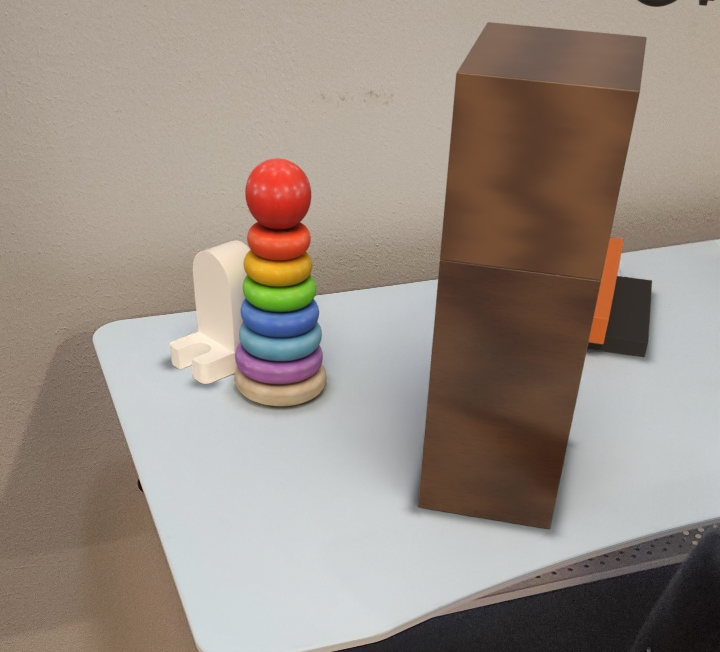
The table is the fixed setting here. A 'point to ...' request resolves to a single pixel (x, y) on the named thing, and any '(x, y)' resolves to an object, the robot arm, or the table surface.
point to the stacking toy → (279, 292)
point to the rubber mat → (628, 318)
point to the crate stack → (522, 261)
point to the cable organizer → (214, 313)
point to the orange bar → (606, 291)
